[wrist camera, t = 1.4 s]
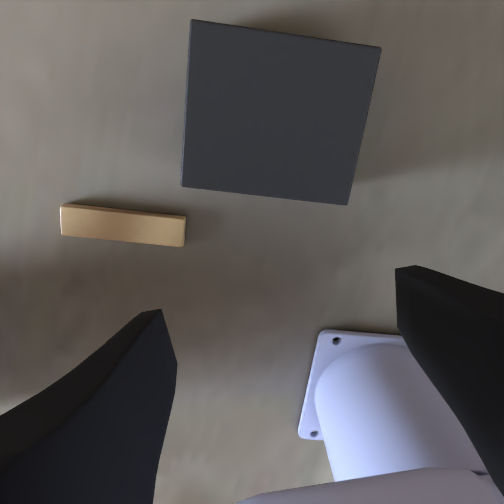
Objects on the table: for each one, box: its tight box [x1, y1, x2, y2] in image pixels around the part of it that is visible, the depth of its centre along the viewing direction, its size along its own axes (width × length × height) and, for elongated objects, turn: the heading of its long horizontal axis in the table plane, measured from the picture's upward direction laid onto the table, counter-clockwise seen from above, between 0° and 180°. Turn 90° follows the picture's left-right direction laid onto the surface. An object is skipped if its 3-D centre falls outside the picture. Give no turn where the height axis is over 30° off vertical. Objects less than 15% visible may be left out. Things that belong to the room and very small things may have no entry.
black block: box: [180, 19, 381, 205], centre depth 17 cm, size 7×6×4 cm
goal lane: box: [60, 203, 186, 247], centre depth 18 cm, size 6×14×1 cm, turn 173°
